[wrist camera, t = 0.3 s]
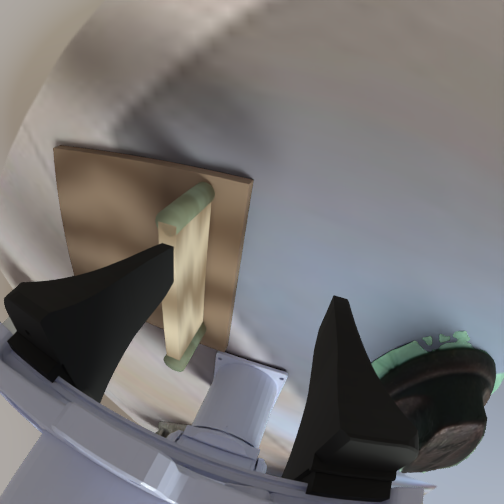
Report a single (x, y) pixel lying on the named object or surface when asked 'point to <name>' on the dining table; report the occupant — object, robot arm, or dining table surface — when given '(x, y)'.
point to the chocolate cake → (441, 397)
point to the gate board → (150, 220)
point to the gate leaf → (185, 271)
